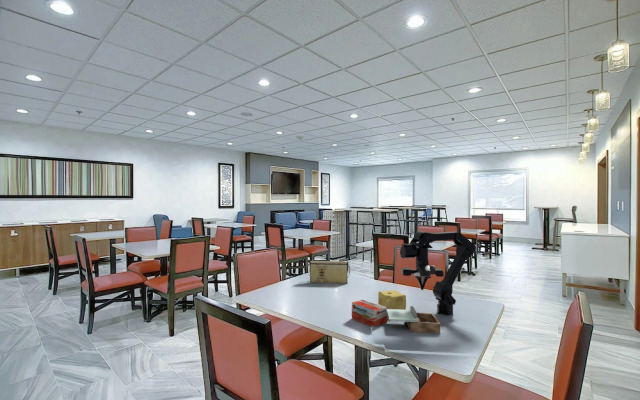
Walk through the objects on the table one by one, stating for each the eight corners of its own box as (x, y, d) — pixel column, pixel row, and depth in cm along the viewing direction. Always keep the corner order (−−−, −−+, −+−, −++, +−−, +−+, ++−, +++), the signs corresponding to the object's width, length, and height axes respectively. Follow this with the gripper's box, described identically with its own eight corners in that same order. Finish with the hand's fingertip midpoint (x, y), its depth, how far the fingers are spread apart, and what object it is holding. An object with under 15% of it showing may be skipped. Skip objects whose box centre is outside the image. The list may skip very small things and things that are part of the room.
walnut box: (432, 323, 139) (432, 313, 139) (440, 335, 127) (440, 323, 127) (405, 322, 140) (405, 312, 140) (410, 333, 128) (410, 322, 128)
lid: (413, 311, 140) (413, 304, 140) (418, 322, 128) (418, 314, 128) (386, 310, 141) (386, 303, 141) (389, 320, 129) (389, 313, 129)
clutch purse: (350, 281, 213) (350, 259, 213) (350, 284, 206) (350, 261, 206) (307, 280, 215) (307, 259, 215) (306, 283, 208) (306, 261, 209)
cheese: (387, 317, 146) (387, 297, 146) (377, 310, 156) (377, 290, 156) (406, 315, 149) (406, 295, 149) (395, 308, 159) (395, 289, 159)
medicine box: (387, 324, 139) (387, 306, 139) (376, 329, 133) (376, 310, 133) (361, 314, 150) (361, 298, 150) (350, 319, 145) (350, 302, 145)
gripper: (404, 260, 140) (405, 294, 140) (447, 261, 138) (447, 295, 138) (401, 256, 151) (401, 287, 151) (440, 256, 149) (440, 288, 149)
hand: (422, 289), depth 147 cm, fingers closed
